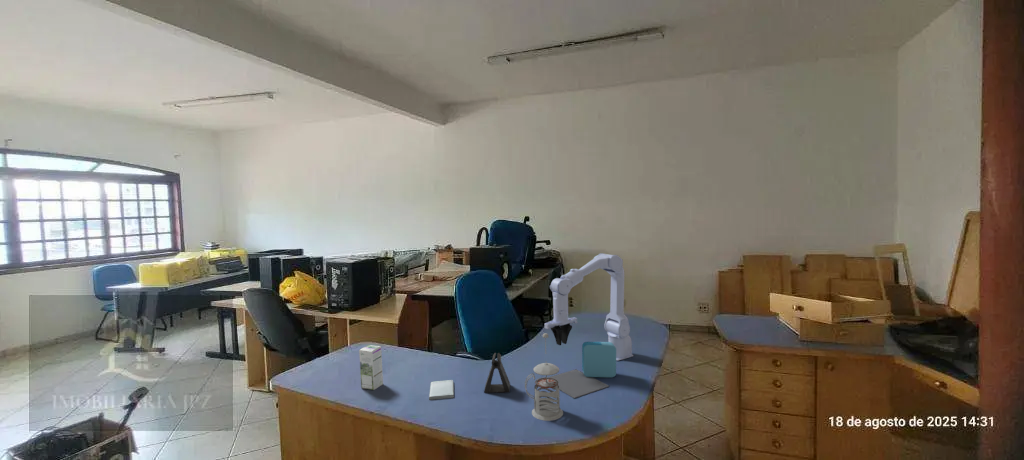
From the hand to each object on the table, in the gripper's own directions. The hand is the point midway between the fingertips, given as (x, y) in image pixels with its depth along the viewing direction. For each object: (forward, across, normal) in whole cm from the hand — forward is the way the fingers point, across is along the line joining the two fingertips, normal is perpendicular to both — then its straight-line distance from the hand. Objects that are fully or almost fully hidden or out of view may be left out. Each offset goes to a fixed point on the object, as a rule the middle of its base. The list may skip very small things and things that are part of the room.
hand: (561, 343), depth 157 cm
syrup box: (+11, +66, -28) cm, 72 cm away
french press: (+11, +25, +23) cm, 36 cm away
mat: (+10, +4, +12) cm, 16 cm away
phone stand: (+11, +29, 0) cm, 31 cm away
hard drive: (+11, +46, -10) cm, 48 cm away
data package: (+10, -8, +12) cm, 18 cm away
